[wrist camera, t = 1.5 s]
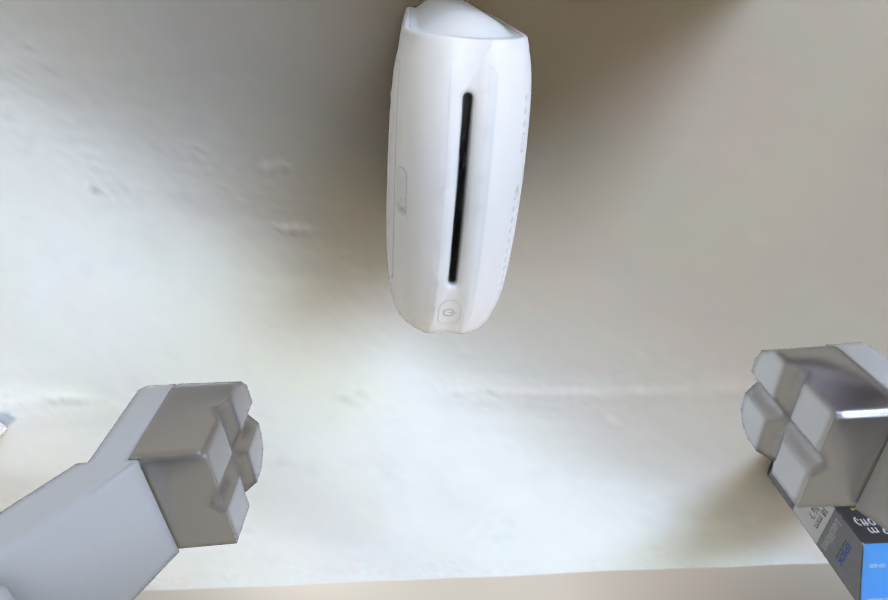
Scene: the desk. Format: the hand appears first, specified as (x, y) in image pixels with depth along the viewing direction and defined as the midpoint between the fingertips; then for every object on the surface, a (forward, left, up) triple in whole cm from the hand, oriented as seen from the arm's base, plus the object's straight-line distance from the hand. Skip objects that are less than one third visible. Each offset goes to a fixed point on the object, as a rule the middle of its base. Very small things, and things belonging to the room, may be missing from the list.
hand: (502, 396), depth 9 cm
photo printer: (0, 0, -20) cm, 20 cm away
